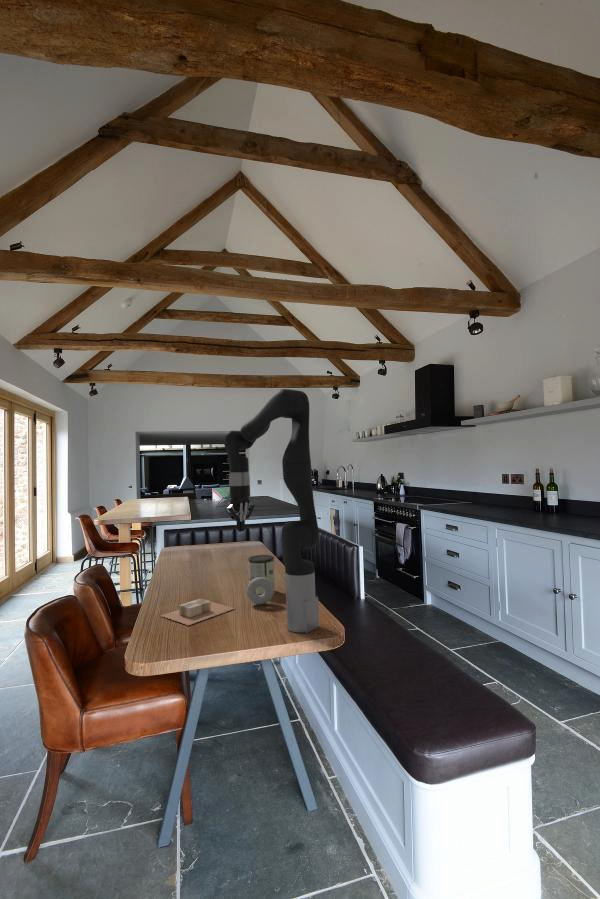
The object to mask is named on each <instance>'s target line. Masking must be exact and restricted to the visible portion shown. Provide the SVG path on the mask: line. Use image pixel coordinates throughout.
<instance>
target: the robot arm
mask: <svg viewBox="0 0 600 899" xmlns="http://www.w3.org/2000/svg"><path fill="white" fill-rule="evenodd" d="M279 418H283V419H291V435H290V439H289V442H288V444H287V446H286V448H285V451H284V453H283V456H282V461H281V463H282V476H283V482H284V484H285V486H286V488H287V490H288V491H289V492H290V495H292V496H293V498H294V500H295V502H296V504H297V508H298V511H299V512H298V513H299V520H294V521H287V522H286V523H284V524H283V526H282V528H281V532H280V533H281V534H280V537H281V549H282V550H281V551H282V561H283V565H284V571H285V572H284V574H285V602H286V603H285V608H286V610H285V611H286V627H287V628H286V629H287V630H288V631H290V632H293V633H304V632H305V634H308V633H310V632H312V631H314V630H316V629H318V628H320V620H319V619H320V616H319V597H318V595H317V596H316V580H315V578H316V577H315V576H316V575H315V562H313V561H312V560H309V559H304V558H303V557H302V553H301V551H304V550H305V551H306V550H310V549H314V548H315V547H316V546H317V545H318V542H319V536H320V535H319V534H320V533H319V526H318V525H319V524H318V520H317V518H318V517H317V512H316V506H315V500H314V490H313V477H312V476H313V473H312V460H311V450H310V401H309V397H308V395H307V394H306V393H305V392H304V391H302V390H299V389H298V390H296V389H289V388H288V389H287V388H285V389H284V388H282V389H279V390H277V391H276V392H275V393H274V394H273V395H272V396H271V398H270V399H268V401H267V402H266V404H265V405H264V406H263V407H262V408H261V409H260V411H258V413H256V414H255V415H254V416H253V417H251V419H248V421H247V422H245V423H244V424H242V425H241V428H240V430H229V431H227V432H226V433H225V435H224V438H223V444H224V445H223V446H224V448H225V452H226V454H227V459H228V462H229V463H228V464H229V478H228V481H229V482H228V484H229V498H230V502H229V504H230V505H229V506H228V507H225V511H226V513H227V514H228V515H229V517H230V519H231V520H232V521H235V522H236V530H237V532H239V533H241V532H245V529H246V520H248V519H250V517H251V515H252V513H253V510H254V509H255V504H252V503H251V500H250V497H251V481H250V472H249V471H250V469H249V467H250V465H249V458H248V457H247V456H245V455H241V454H240V452H239V450H242V451H243V450H244V451H245V450H249V449H250V448H252V446H253V445H254V444H255V442H256V441H257V440H258V439H259V438H260V437H262V436H264V435H265V434H266V433H267V432H268V431H269V430H270V426H271V422H273V421H275V420H277V419H279Z"/></svg>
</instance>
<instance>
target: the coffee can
mask: <svg viewBox="0 0 600 899" xmlns="http://www.w3.org/2000/svg"><path fill="white" fill-rule="evenodd" d="M274 559H275V557H274V555H271V554H258V555H253V556H250V557H248V560H247V561H248V578H249V579H248V580H249V583H250V582H251V581H252V580H253V579H255V578H258V577H264V578H266V579H268V580H269V581H270V582H271V583H272V585H273V588H274V592H273V595H274V594H275V593H276V586H275V562H274ZM249 583H248V584H249ZM264 592H265V589H264V588H263V587H258V588H257V589H256V594H257V595H262V594H264Z"/></svg>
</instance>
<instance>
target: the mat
mask: <svg viewBox="0 0 600 899" xmlns="http://www.w3.org/2000/svg"><path fill="white" fill-rule="evenodd" d="M231 610H232V611H235V610H236V608H235V607H231V606H228V605H225V604H224V605H223V604H222V603H221V604H220V603H218V602H214V601H211V610H210V611H208V612H206V613H203V614H200V615H197V616H194V617H192V618H188V617H185V616H182V615H180V614H179V609H177V610H173V611H170V612H167V613H164V614H161V615H160V616H161V617H160V618H162V617H165V618H168V619H171V620H174V621H177V622H180V623H182V624H181V625H183V624H185V625H184V626H186V625H187V626H186V627H190V626H189V625H191V626H193V625H192V624H194V625H195V623H196V624H198V623H197V622H199V623H201V622H200V621H202V622H204V621H206V620H205V619H207V620H209V619H208V618H210V619H212V618H211V617H213V618H215V617H218V616H220V614H221V615H224V614H227V613H228V611H229V612H231ZM217 615H218V616H217ZM165 618H164V619H165ZM168 619H167V620H168ZM171 620H170V621H171ZM203 620H204V621H203ZM174 621H173V622H174ZM177 622H176V623H177ZM180 623H179V624H180Z"/></svg>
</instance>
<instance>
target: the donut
mask: <svg viewBox="0 0 600 899" xmlns="http://www.w3.org/2000/svg"><path fill="white" fill-rule="evenodd" d="M258 587H263V588H264V589H265V592H264V594H262V595H257V594H256V589H257V588H258ZM273 592H274V588H273V585H272V583H271V582H270V581H269V580H268V579H266V578H264V577H258V578H255V579H253V580H252V581H251V582H250V583H248V585H247V587H246V596H247V598H248V600H249V601H250V602H251V603H252V604H254V605H265V604H267V603H269V601H271V600H272V598H273V596H274V594H273Z"/></svg>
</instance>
